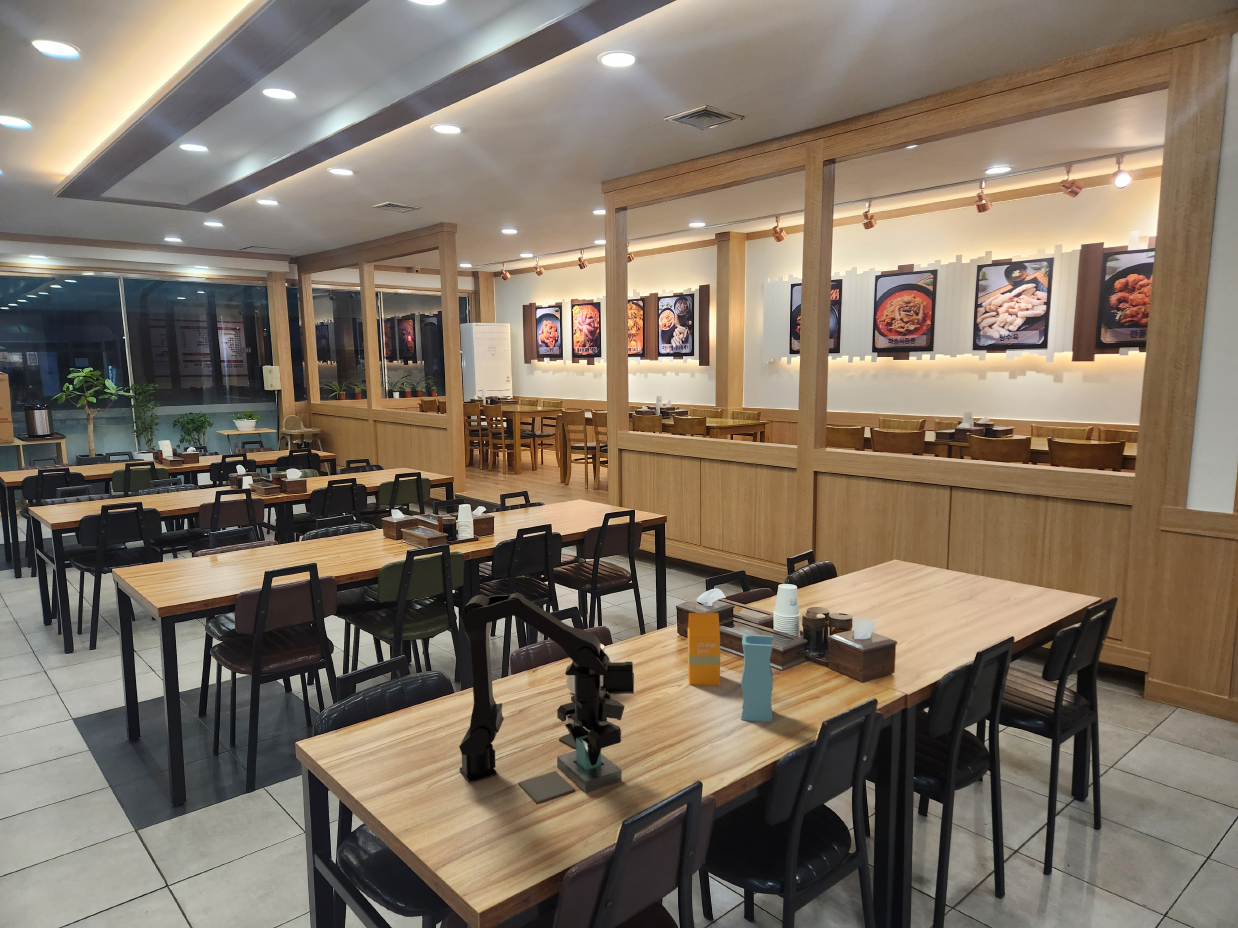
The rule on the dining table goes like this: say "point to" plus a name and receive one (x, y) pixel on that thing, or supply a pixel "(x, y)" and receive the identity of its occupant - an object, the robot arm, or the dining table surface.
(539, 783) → the dark gray square pad
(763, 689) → the vase
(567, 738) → the smartphone
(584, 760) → the teal square block
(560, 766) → the gray rectangular frame
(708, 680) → the orange juice
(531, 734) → the dining table surface
